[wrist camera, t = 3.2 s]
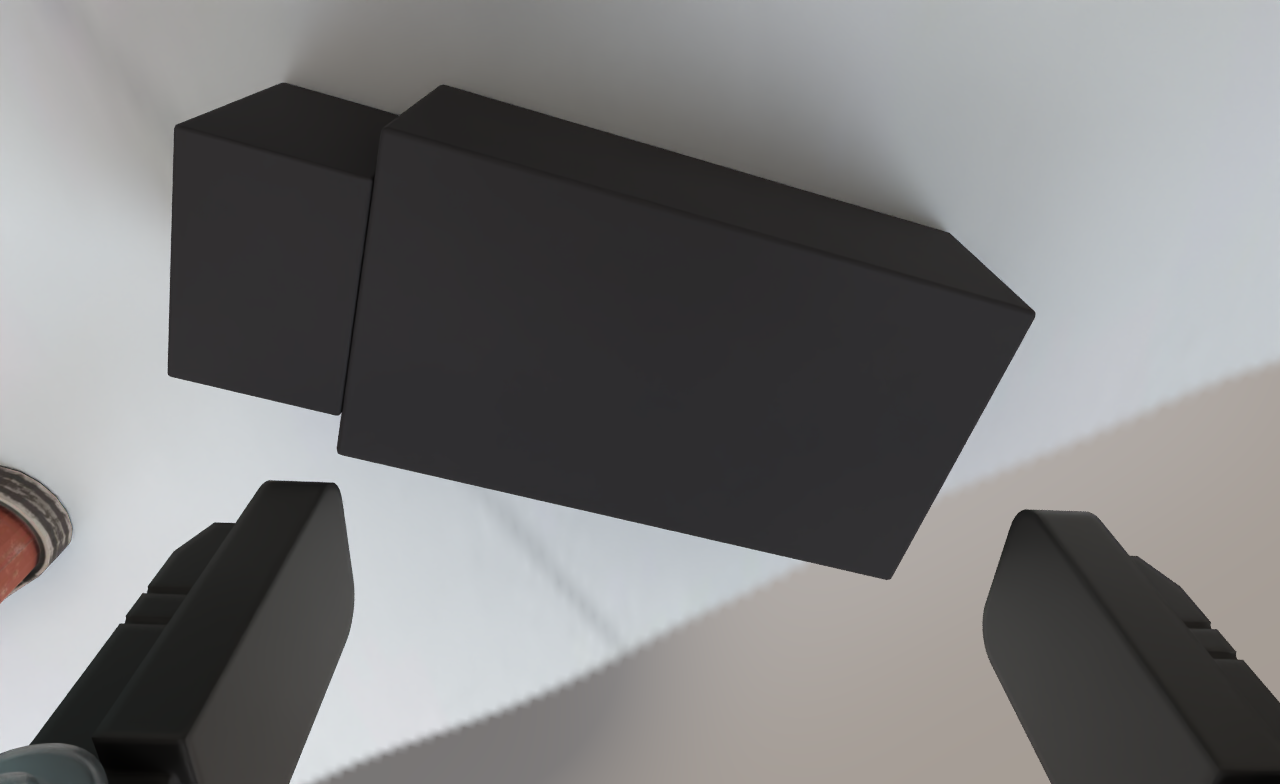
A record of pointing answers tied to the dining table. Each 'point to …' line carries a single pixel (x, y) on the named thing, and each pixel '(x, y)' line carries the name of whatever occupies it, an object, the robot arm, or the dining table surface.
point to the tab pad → (584, 318)
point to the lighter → (28, 530)
